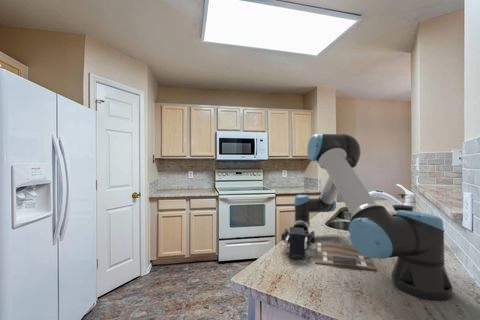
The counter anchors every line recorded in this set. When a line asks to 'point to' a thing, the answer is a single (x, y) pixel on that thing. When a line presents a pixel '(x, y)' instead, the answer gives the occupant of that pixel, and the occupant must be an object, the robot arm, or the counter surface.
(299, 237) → the small box
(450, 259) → the counter surface
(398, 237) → the robot arm
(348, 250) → the keyhole plate
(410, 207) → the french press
